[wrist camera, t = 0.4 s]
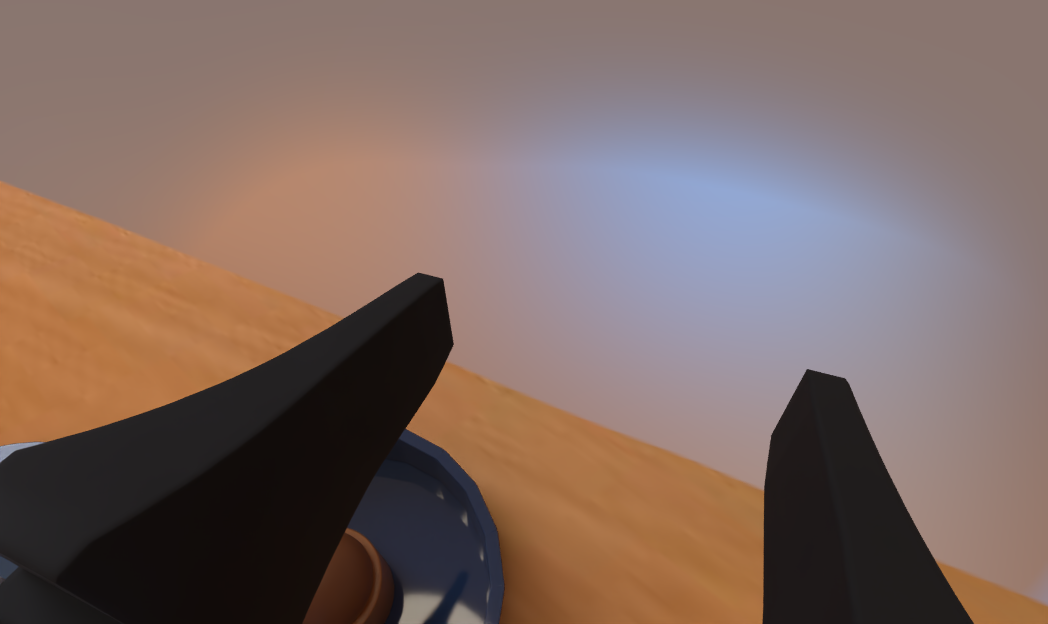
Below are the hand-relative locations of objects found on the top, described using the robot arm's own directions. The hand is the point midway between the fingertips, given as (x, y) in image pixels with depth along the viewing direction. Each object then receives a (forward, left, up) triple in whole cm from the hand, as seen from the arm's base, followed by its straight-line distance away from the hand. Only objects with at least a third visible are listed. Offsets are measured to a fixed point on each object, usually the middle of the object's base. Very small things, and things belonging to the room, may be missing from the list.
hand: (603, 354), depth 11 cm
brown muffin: (-6, +6, -19) cm, 21 cm away
